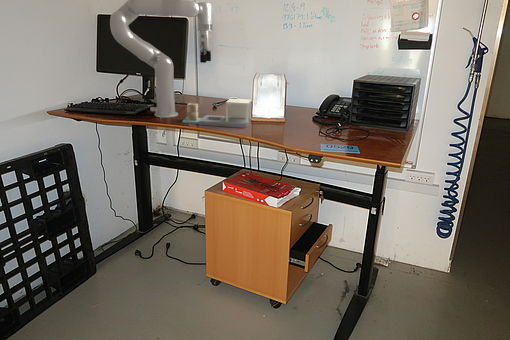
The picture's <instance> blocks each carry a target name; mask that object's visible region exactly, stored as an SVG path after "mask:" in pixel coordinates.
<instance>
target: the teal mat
mask: <svg viewBox="0 0 510 340" xmlns="http://www.w3.org/2000/svg"><path fill="white" fill-rule="evenodd" d="M198 118H199V119H198V120H196V121H192V120H188V118H187V117H186V118H184V119H183V120H182V121H181V124H182V123H185V124H198V125H199V120H200V119H202V118H203V117H198Z"/></svg>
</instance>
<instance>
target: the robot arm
mask: <svg viewBox="0 0 510 340" xmlns="http://www.w3.org/2000/svg"><path fill="white" fill-rule="evenodd" d="M140 15H143V16H145V15H146V16H159V17H168V16H169V17H171V16H174V17H175V16H177V17H187V18H194V17H197V31H198V32H199V39H198V41H199V42H198V43H199V44H198V45H199V46H198V47H199V62H200V63H204V64H205V63H207V62H211V61H212V50H213V36H212V32H213V4H212V3H210V2H206V1H204V2H203V1H201V2H197V1H194V0H127V1H125V3H124V4H123V5H121V6H120V7H119V8H118V9H117V10H116V11H114V12H112V14H111V15H110V17H109V18H110V19H109V27H110V31H111V34H112V36H113V38H114V40H115V41H116V42H117V43H118V44H120V45H121V46H122V47H123V48H125V49H126V50H128V52H130V53H131V54H133V55H134V56H136V57H137V59H139V60H141V61H142V62H144V63H146V64H147V65H149V66H150V67H152V68H153V69H154V79H155V93H156V94H155V95H156V106H155V107H154V106H150V109H149V110H150V111H151V112H154V117H156V118H163V119H165V118H175V117H177V116H179V113H178V112H177V111H176V107H175V106H176V104H175V103H176V102H175V83H174V81H175V79H174V73H175V72H174V62H173V60H172V58H170V57H169V56H167V54H165V53H164V52H162V51H161V50H160V49H158V48H156V47H155V46H154V45H152V43H150V42H148V41H145V40H143V39H142V38H141V37H139V36H138V35H137V34H136V33H134V32H133V31H132V30H131V29H130V27H129V25H130V24H132V23H133V22H134V21H135V20H136V19H137V18H138V17H139V16H140Z"/></svg>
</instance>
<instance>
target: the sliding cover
mask: <svg viewBox="0 0 510 340" xmlns="http://www.w3.org/2000/svg"><path fill="white" fill-rule="evenodd" d="M251 115H252V99H250V98H249V99H248V98H247V99H246V98H229V99H227V101H225V116H226V122H228V116H230V118H246V123H248V119H250V120H251V119H252V118H251V117H252V116H251Z"/></svg>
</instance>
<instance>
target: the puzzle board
mask: <svg viewBox="0 0 510 340" xmlns="http://www.w3.org/2000/svg"><path fill="white" fill-rule="evenodd" d="M201 118H202V119H200V120H199V124H198V126H211V127H226V128H240V129H241V128H242V129H246V128H247V127H248V126H249V124H250V122H251V119H248V123H246V118H230V115H228V122H226V115H215V114H213V115H212V114H206V115H204V116H203V117H201Z"/></svg>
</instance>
